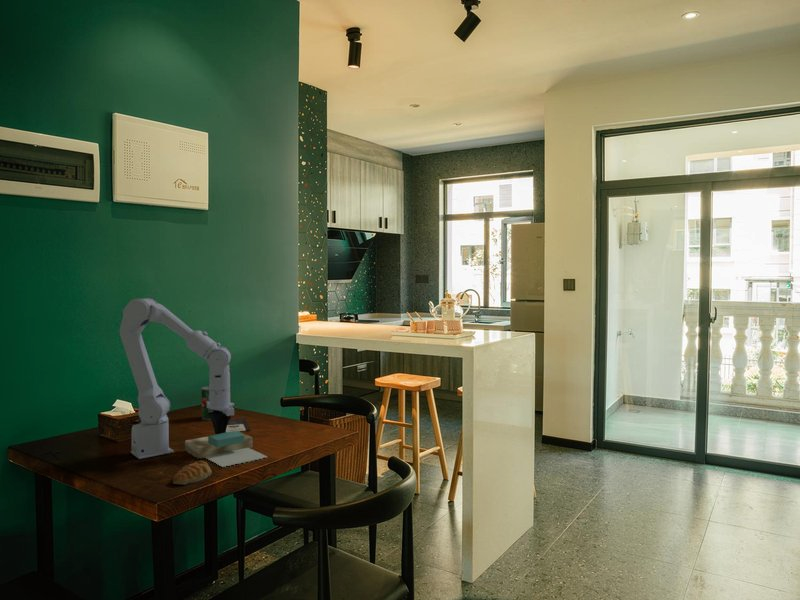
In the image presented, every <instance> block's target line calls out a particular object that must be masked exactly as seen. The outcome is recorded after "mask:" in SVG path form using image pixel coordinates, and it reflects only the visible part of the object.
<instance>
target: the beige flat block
mask: <svg viewBox="0 0 800 600" xmlns="http://www.w3.org/2000/svg"><path fill="white" fill-rule="evenodd" d="M236 432H238V431H236ZM239 433H241V434H243V435H244V442H242V443H237V444H232V445H227V446H222V447H215V446H214V445H212V444H210V443H208V436H202V437H199V438H198V437H197V438H191V439H187V440H184V449H185V450H184V451H185V452H186V451H187V452H186V453H188V454H190V455H191V454H192V456H193V457H195V458H196V457H197V458H196V459H199V458H200V459H205V458H204V456H209V455H214V454H219V453H224V452H229V451H234V450H239V449H243V448H250V449H252V447H254V446H253V445H254V443H253V441H254V440H253V437H252V436H250V435H247V434H245V433H244V432H239ZM200 459H199V460H200Z"/></svg>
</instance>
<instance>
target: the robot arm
mask: <svg viewBox="0 0 800 600" xmlns="http://www.w3.org/2000/svg"><path fill="white" fill-rule="evenodd" d="M151 322H152V323H159V324H163V325H164V326H166V327H168V329H170V330H172V331H173V332H174V333H176V334H177V335H178V336H180V337H181V338H182V339H184V340H185V345H186V347H187V348H188V349H190V350H191V351H192V352H193V353H195V354H196V355H198V356H199V357H201V358H202V359H203V360H206V363H207V365H208V367H209V377H208V379H209V380H208V381H209V383H208V384H209V385H208V386H209V397H210V401H207V408H209V409H212V410H213V412H209V413H208V415H209V417H210V419H211V420H210V421H211V423H212V426H213V429H214V430H213V431H214V435H215V434H221V433H226V428H227V424H228V422H229V419H231V417H232V416H235V408H234V406H235V403H233V402H231V372H230V370H231V368H230V362H231V359H232V354H231V352H230V351H229V349H228V348H227V347H226V346H221V345H222V344H221V343H220V342H216V341H215V340H213V339H212V338H210V337H209V336H208V334H209V333H208V332H206V331H201V330H197V329H196V330H193V329H192V328H190V326H188V325H187V324H186V323H185V322H183V320H181V319H180V318H179V317H178V316H177V315H175V314H174V313H172V311H170V310H169V309H168V308H167V307H166V306H164V305H163V304H162V303H158V302H157V301H156V300H155V299H153V298H151V297H145V298H134V299H131V300H130V301H128V303H127V304H126V306H125V307H124V309H122V319H121V323H120V327H119V336H120V339H121V342H122V345H123V347H124V348H123V349H124V351H125V354H126V357H127V361H128V364H129V367H130V370H131V372H132V375H133V379H134V382H135V384H136V385H135V386H136V387H137V391H138V396H137V402H138V409H137V410H138V412H137V414H138V418H139V419H140V423H137V424H133V425H132V426H131V434H130V435H131V436H130V437H131V450H130V453H131V454H132V455H133V456H135V457H136V458H137V459H139V460H141V459H147V458H151V457H157V456H161V455H168V454H172V453H174V452H175V450H174V449H172V448H171V447H170V441H169V440H170V438H169V437H170V436H169V434H170V433H169V432H170V429H169V428H170V427H169V419H170V418H169V417H168V415H167V414H168V413H169V411H170V410H171V401H170V400H169V399H168V397H167V396H165V393H164V391H163V389H162V388H161V387H160V386H159V385H158V382H157V379H156V376H155V373H154V369H153V366H152V364H151V361H150V357H149V354H148V351H147V349H146V345H145V341H144V340H143V339H144V338H143V336H142V332H143V331H144V329H146V326H147V324H149V323H151Z"/></svg>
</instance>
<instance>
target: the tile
mask: <svg viewBox="0 0 800 600" xmlns="http://www.w3.org/2000/svg"><path fill="white" fill-rule="evenodd" d="M241 433H242V432H241ZM241 433H239V432H236V431H232V432H226V433H221V434H215V433H214V434H211V435H210V434H209V435H208V436H207V437H208V443H210V444H212V445H214V446H215V447H222V446H227V445H232V444H237V443H242V442H244V435H243V434H244V433H243V434H241Z"/></svg>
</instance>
